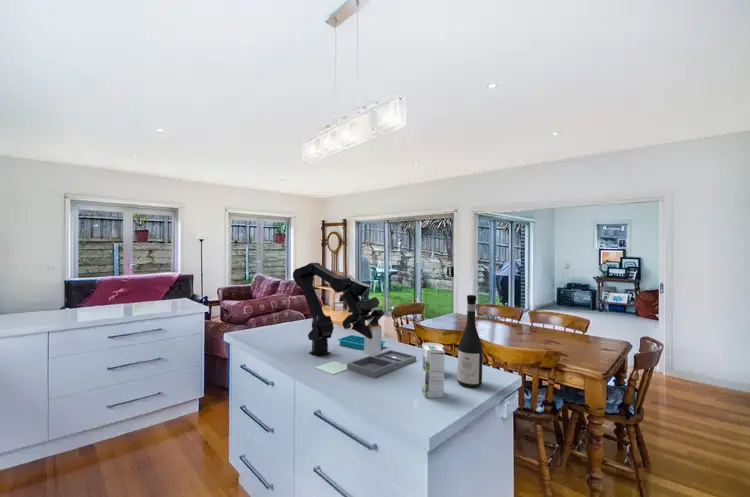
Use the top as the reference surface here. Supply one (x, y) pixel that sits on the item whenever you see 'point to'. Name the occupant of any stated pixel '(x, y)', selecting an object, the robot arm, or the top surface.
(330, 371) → the mat
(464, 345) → the wine bottle
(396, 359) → the rod
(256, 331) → the top surface
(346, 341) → the ice cube tray
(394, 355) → the grey compartment tray
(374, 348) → the block
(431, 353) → the syrup box
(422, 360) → the white cup
